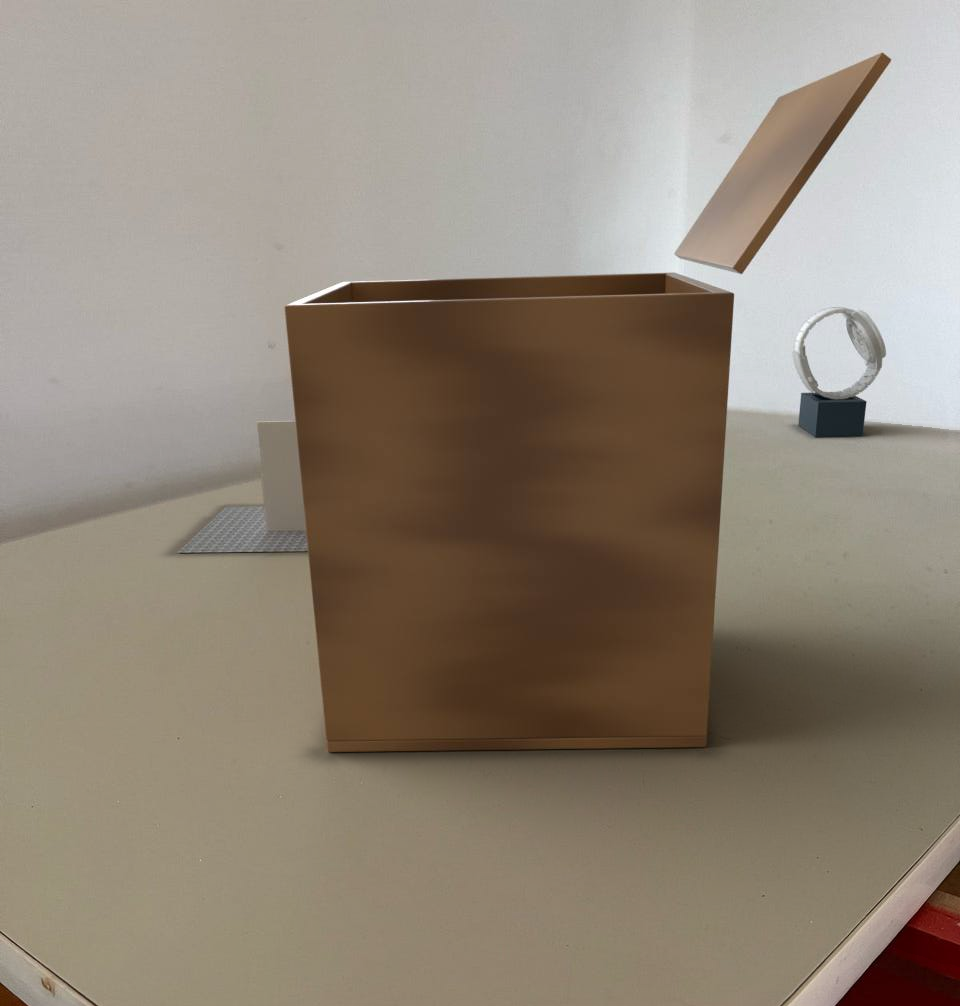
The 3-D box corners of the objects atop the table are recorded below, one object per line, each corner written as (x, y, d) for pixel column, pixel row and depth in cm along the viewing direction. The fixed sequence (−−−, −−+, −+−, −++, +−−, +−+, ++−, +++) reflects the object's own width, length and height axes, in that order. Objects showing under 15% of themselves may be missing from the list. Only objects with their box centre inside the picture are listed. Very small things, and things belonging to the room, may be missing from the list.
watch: (884, 435, 94) (899, 309, 90) (795, 437, 94) (807, 311, 90) (863, 423, 99) (877, 304, 95) (779, 425, 99) (789, 306, 95)
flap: (673, 253, 46) (680, 259, 46) (732, 267, 34) (741, 274, 34) (778, 96, 43) (786, 102, 43) (882, 51, 31) (892, 59, 31)
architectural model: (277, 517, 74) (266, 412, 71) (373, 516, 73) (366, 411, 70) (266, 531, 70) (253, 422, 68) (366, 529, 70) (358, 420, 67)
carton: (660, 625, 52) (675, 272, 46) (706, 747, 40) (734, 292, 34) (368, 630, 53) (341, 281, 46) (327, 752, 41) (284, 305, 34)
